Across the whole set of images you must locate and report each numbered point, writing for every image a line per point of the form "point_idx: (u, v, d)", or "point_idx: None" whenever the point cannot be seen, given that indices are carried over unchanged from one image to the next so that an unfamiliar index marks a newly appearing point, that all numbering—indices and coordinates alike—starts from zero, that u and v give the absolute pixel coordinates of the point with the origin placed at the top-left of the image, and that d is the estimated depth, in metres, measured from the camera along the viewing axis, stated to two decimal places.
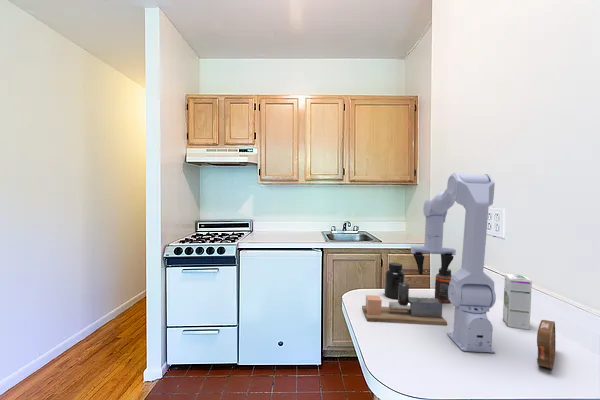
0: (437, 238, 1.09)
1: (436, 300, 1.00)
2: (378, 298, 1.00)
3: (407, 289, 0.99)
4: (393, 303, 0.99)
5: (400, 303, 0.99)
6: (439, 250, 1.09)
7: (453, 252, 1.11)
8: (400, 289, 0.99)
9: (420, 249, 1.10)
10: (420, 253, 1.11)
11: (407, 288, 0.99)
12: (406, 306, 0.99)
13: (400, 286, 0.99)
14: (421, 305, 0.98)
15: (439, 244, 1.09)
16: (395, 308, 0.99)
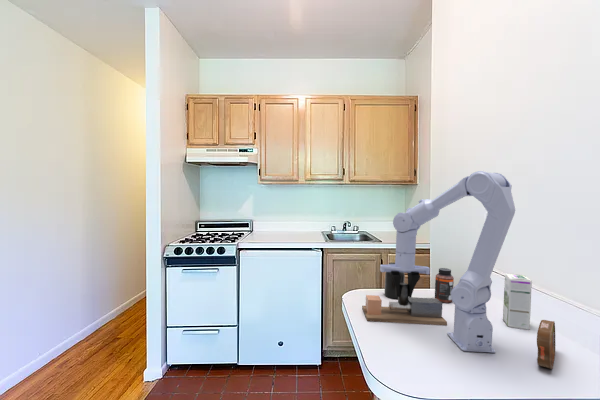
0: (408, 255, 0.97)
1: (436, 300, 1.00)
2: (378, 298, 1.00)
3: (407, 289, 0.99)
4: (393, 303, 0.99)
5: (400, 303, 0.99)
6: (411, 269, 0.97)
7: (427, 271, 0.98)
8: (400, 289, 0.99)
9: (390, 267, 0.98)
10: (390, 272, 0.99)
11: (407, 288, 0.99)
12: (406, 306, 0.99)
13: (400, 286, 0.99)
14: (421, 305, 0.98)
15: (411, 263, 0.97)
16: (395, 308, 0.99)
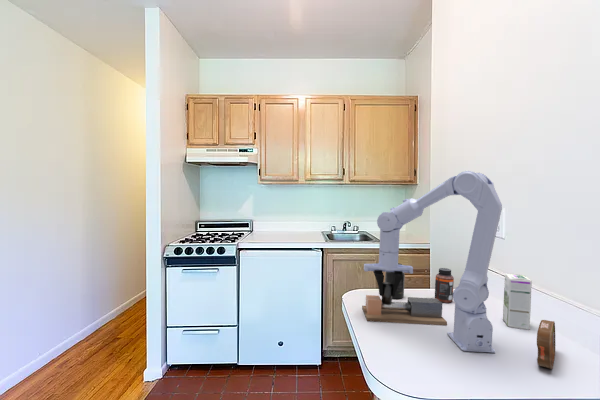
0: (391, 255, 0.97)
1: (436, 300, 1.00)
2: (378, 298, 1.00)
3: (391, 289, 0.99)
4: None
5: (383, 302, 0.99)
6: (394, 268, 0.97)
7: (410, 270, 0.99)
8: (383, 288, 0.99)
9: (373, 267, 0.98)
10: (373, 271, 0.99)
11: (391, 287, 0.99)
12: (389, 305, 0.99)
13: (383, 285, 0.99)
14: (421, 305, 0.98)
15: (394, 262, 0.97)
16: None
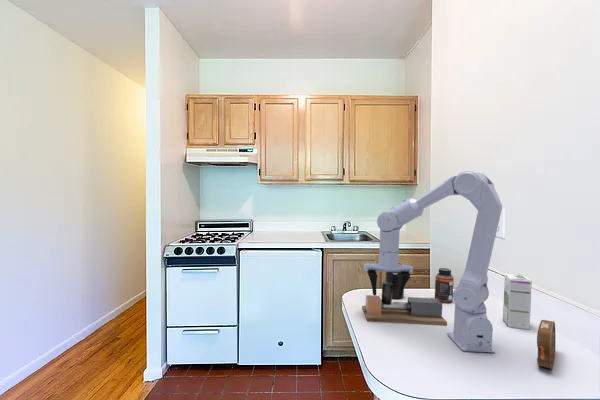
0: (391, 254, 0.97)
1: (436, 300, 1.00)
2: (378, 298, 1.00)
3: (391, 289, 0.99)
4: None
5: (383, 302, 0.99)
6: (394, 268, 0.97)
7: (410, 270, 0.98)
8: (383, 288, 0.99)
9: (373, 267, 0.98)
10: (373, 271, 0.99)
11: (391, 287, 0.99)
12: (389, 305, 0.99)
13: (383, 285, 0.99)
14: (421, 305, 0.98)
15: (394, 262, 0.97)
16: None
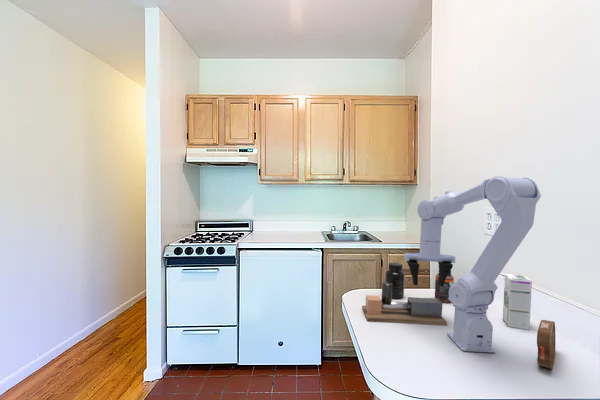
0: (434, 244, 0.95)
1: (436, 300, 1.00)
2: (378, 298, 1.00)
3: (391, 289, 0.99)
4: None
5: (383, 302, 0.99)
6: (436, 257, 0.95)
7: (452, 259, 0.97)
8: (383, 288, 0.99)
9: (415, 256, 0.97)
10: (415, 260, 0.98)
11: (391, 287, 0.99)
12: (389, 305, 0.99)
13: (383, 285, 0.99)
14: (421, 305, 0.98)
15: (437, 251, 0.95)
16: None
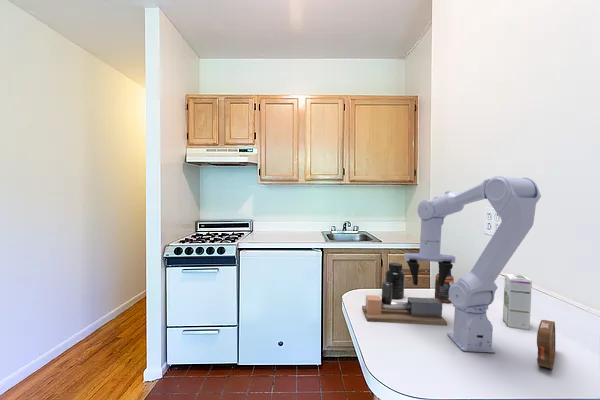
0: (434, 244, 0.95)
1: (436, 300, 1.00)
2: (378, 298, 1.00)
3: (391, 289, 0.99)
4: None
5: (383, 302, 0.99)
6: (436, 257, 0.95)
7: (452, 259, 0.97)
8: (383, 288, 0.99)
9: (415, 256, 0.97)
10: (415, 260, 0.98)
11: (391, 287, 0.99)
12: (389, 305, 0.99)
13: (383, 285, 0.99)
14: (421, 305, 0.98)
15: (437, 251, 0.95)
16: None
